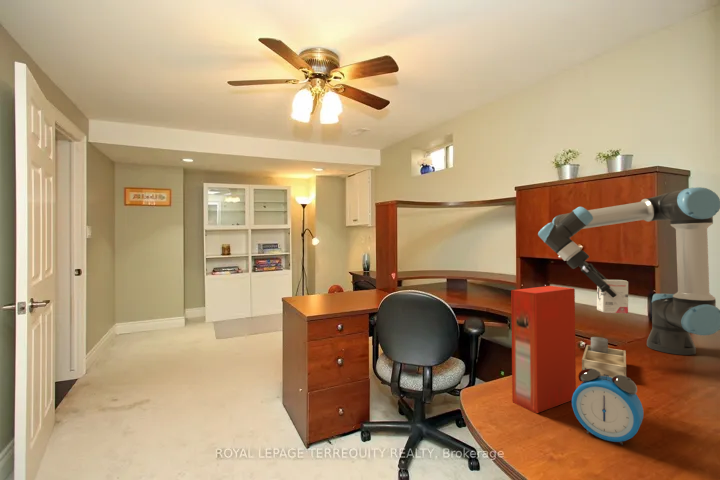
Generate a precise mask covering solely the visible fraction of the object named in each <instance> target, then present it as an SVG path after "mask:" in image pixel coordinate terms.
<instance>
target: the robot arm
mask: <svg viewBox="0 0 720 480" xmlns="http://www.w3.org/2000/svg"><path fill="white" fill-rule="evenodd" d="M719 211H720V197H719V196H718V194H717V193H716V192H715V191H713V190H712V189H709V188H707V187H702V186H701V187H699V186H697V187H688V188H683V189H679V190H673V191H670V192H667V193H666V192H665V193H662V194H659V195H657V196H652V197H648V198H643V199H641V201H637V202H632V203H626V204H620V205H619V204H618V205H613V206H607V207H602V208H594V209H587V208H585V207H583V206H578V207H576V208H575V209H573V210H571V212H568V213H563V214H558V215H556V216H555V217H554V218H553V219H552V221H551V222H548V223H547V224H545V225H544V226H543V227H542V228H540V230H539V231H538V233H537V236H538V237H539V238H540V239H541V240H542V241H543V243H544V244H546V245H547V246H548V247H549V248H550V249H551V250H552V251H553V252H555V254H557V255H558V256H557V258H559V259H562V260H563V261H564V262H565V261H566V265H568V266H569V267H570V268H571V269H573V270H574V269H576V268H578V267H579V268H580V271H581V272H582V273H583V274H584V275H585V276H587V277H588V278H589V280H591V281H592V282H593V283H594V284H595V285H596V287H597V286H598V287H599V288H600V289H601V292H602V293H603V292H605V293H606V294H607V295H608V296H609V297H611V298H612V299H613V300H614V301H615V302H616V303H617V304H618V305H619V306H620V305H622V304H623V303H625V302H626V300H625V299H624V298H623V297H622V296H620V295H619V294H618V293H617V292H616V291H615V290H614V289H613V288H612V287H610V286H609V285H608V284H607V283H606V282H605V281H604V280H609V279H608V278H606V277H605V276H604V274H602V273H601V272H600V271H599V270H598V269H597V268H596V267H595V265H593V264H592V263H588V262H587V260H588V259H589V258H590V255H589V254H588V253H586V251H585V250H582V249H581V247H580V246H579V245H578V244H577V243H576V242H574V240H572V239H571V238H572V237H573V236H574V235H576V234H578V232H580V231H581V230H584V229H591V228H596V227H598V228H599V227H602V226H603V227H605V226H609V225H610V226H611V225H612V226H613V225H616V224H617V225H618V224H625V223H629V222H630V223H632V222H636V221H645V222H648V223H649V222H655V221H669V223H670V224H669V225H670V226H671V227H672V228H674V229H675V238H676V240H675V243H676V244H675V245H676V247H675V248H676V269H677V273H676V274H677V276H676V277H677V291H676V292H675V293H654V294H653V295H652V299H651V317H652V318H651V322H652V325H651V326H652V329H651V330H650V333H649V335H648V337H647V339H646V346H647V347H648V348H650V349H652V350H655V351H657V352H661V353H666V354H671V355H679V356H682V355H683V356H693V355H696V353H697V349H696V345H695V343H694V340H693V338H692V336H691V334H693V335H697V336H710V335H714V334H717V332H719V331H720V309H719V307H718V306H717V305H716V303H717V302H716V297H715V296H714V295H712V294H711V293H710V271H709V270H710V268H709V245H708V244H709V243H708V229H709V227H710V226H712V225H713V224H714V220H713V219H714V217H715V215H717V213H718V212H719Z"/></svg>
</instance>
